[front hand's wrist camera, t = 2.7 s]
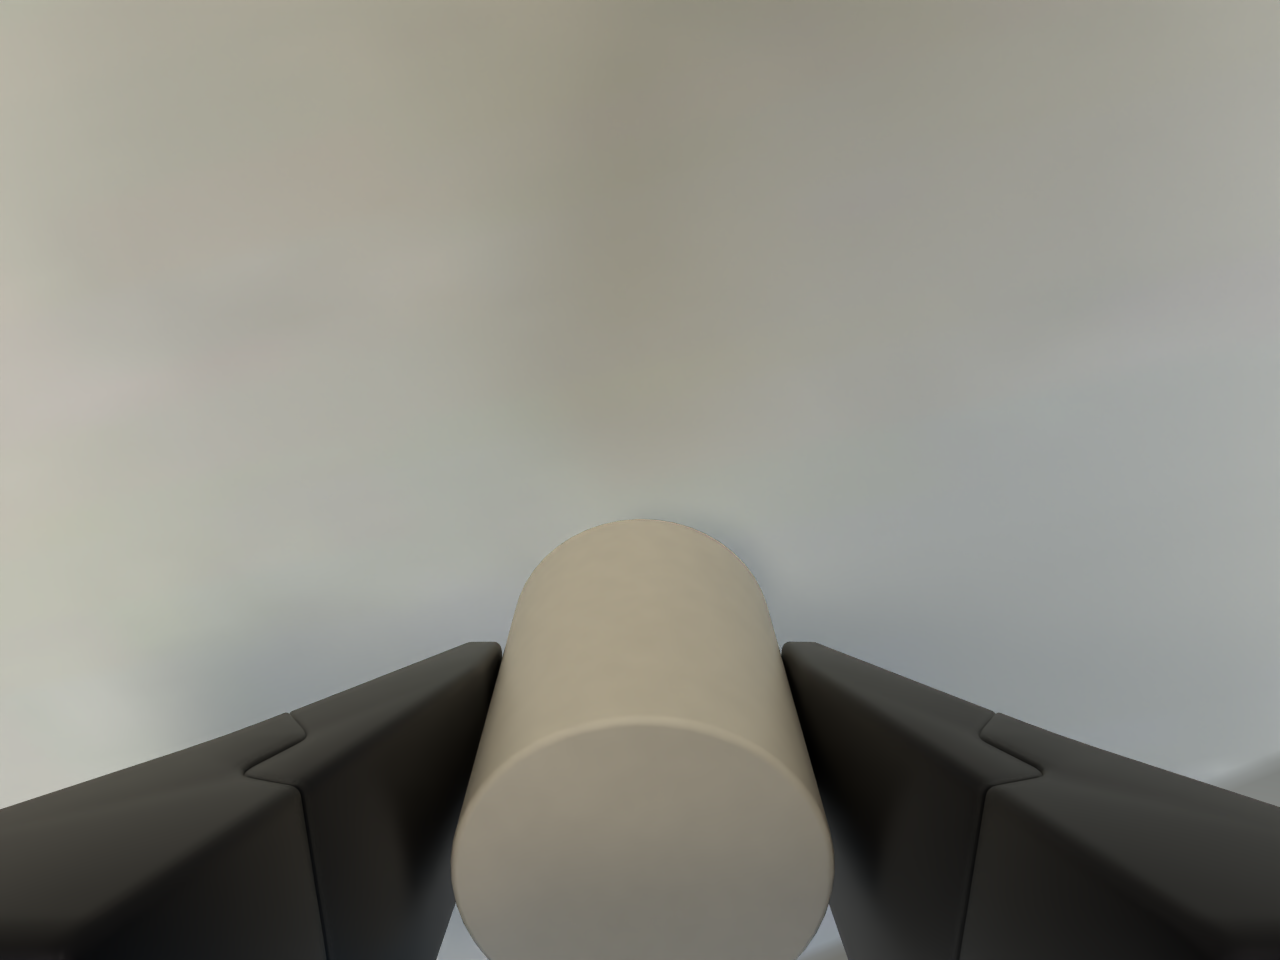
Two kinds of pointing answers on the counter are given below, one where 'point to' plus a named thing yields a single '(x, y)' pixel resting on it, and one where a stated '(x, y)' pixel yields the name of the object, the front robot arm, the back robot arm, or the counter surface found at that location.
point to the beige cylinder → (642, 766)
